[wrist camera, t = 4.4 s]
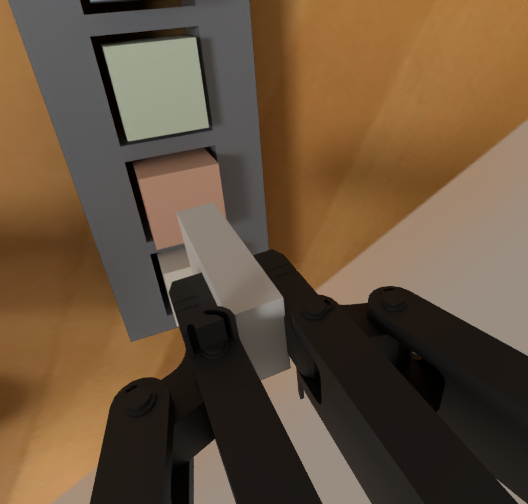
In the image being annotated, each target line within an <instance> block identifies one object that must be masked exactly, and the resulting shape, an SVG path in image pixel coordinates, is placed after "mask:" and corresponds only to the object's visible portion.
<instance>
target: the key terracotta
mask: <svg viewBox="0 0 528 504" xmlns="http://www.w3.org/2000/svg"><path fill="white" fill-rule="evenodd" d="M132 163H133V167H134V170H135V174H136V178H137V182H138V186H139V189H140V193H141V197H142V201H143V204H144V208H145V212H146V216H147V220H148V223H149V226H150V229H151V233H152V236H153V239H154V242H155V245H156V249H157V250H159V249H163V248H167V247H171V246H175V245H179V244H183V243H184V240H183V237H182V233H181V229H180V225H179V221H178V217H177V213H176V212H177V211H181V210H185V209H189V208H192V207H196V206H200V205H203V204H207V203H211V202H214V203H215V204H216V206H217V207H218V209H219V210H220V211H221V213H222V214H223V215H224V217H225V218H226V213H225V206H224V199H223V192H222V185H221V178H220V171H219V164H218V162H217V161H216V160H215V159H214V158H213V157H212V156H211V155H210V154H209V153H208V152H207V151H206V150H205V148H204V147H203V148H198V149H192V150H187V151H182V152H176V153H171V154H166V155H160V156H155V157H150V158H144V159H139V160H134V161H132Z"/></svg>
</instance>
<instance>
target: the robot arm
mask: <svg viewBox="0 0 528 504" xmlns="http://www.w3.org/2000/svg"><path fill="white" fill-rule="evenodd" d="M176 213H177V217H178V221H179V225H180V229H181V233H182V237H183V240H184V244H185V248H186V252H187V256H188V260H189V263H190V267H191V270H192V273H193V275H192V276H189V277H186V278H182V279H179V280H176V281H173V282H172V284H171V287H170V290H169V296H170V299H171V302H172V305H173V308H174V312H175V315H176V318H177V321H178V324H179V328H180V331H181V334H182V337H183V340H184V343H185V347H186V352H185V357H184V359H183V361H182V363H181V364H180V365H179V366H178V367H177V369H175V370H174V371H173V372H172V373H171V374H169V375H168V376H166V377H165V378H164V379H162V380H160V379H157V378H154V377H150V378H141V379H138V380H135V381H132V382H131V383H129V384H128V385H126V386H125V387H123V388H122V389H121V390H120V391H119V393H118V394H117V395H116V396H115V397H114V399H113V402H112V404H111V406H110V410H109V415H108V420H107V425H106V429H105V434H104V439H103V444H102V448H101V453H100V458H99V463H98V467H97V472H96V477H95V482H94V486H93V491H92V496H91V501H90V504H193V503H194V498H193V497H194V496H193V495H194V494H193V493H194V458H193V457H194V456H195V455H196V454H198V453H199V452H200V451H201V450H202V449H203V448H205V447H206V446H207V445H208V444H209V443H210V442H212V441H213V440H214V439H215V440H216V443H217V446H218V449H219V453H220V456H221V459H222V462H223V465H224V468H225V471H226V474H227V477H228V480H229V483H230V486H231V490H232V493H233V496H234V499H235V502H236V504H322V502H321V500H320V498H319V496H318V494H317V492H316V490H315V488H314V486H313V484H312V482H311V480H310V478H309V476H308V474H307V472H306V470H305V468H304V466H303V464H302V462H301V460H300V458H299V456H298V454H297V452H296V450H295V448H294V446H293V444H292V442H291V440H290V438H289V436H288V434H287V432H286V430H285V428H284V426H283V424H282V422H281V420H280V418H279V416H278V414H277V412H276V410H275V408H274V406H273V404H272V402H271V401H270V398H269V396H268V395H267V392H266V390H265V388H264V386H263V385H262V383H261V380H263V379H265V378H268V377H270V376H273V375H275V374H277V373H280V372H282V371H285V370H287V369H289V368H290V359H289V356H290V358H291V359H292V361H293V363H294V364H295V366H296V369H297V380H298V391H299V395H300V399H303V398H304V391H305V393H306V395H307V396H308V398H309V399H310V401H311V403H312V405H313V406H314V408H315V410H316V411H317V413H318V415H319V416H320V418H321V420H322V421H323V423H324V425H325V426H326V428H327V430H328V431H329V433H330V435H331V436H332V438H333V440H334V441H335V443H336V445H337V446H338V448H339V450H340V451H341V453H342V455H343V456H344V458H345V460H346V461H347V463H348V465H349V466H350V468H351V469H352V471H353V473H354V475H355V477H356V478H357V480H358V482H359V483H360V485H361V487H362V488H363V490H364V491H365V493H366V495H367V497H368V498H369V500H370V502H371V503H372V504H518V503H517V502H516V501H515V500H514V498H513V497H512V496H511V495H510V494H509V493H508V492H507V491H506V490H505V488H503V486H502V485H501V484H500V483H499V482H498V481H497V480H499V481H500V482H501V483H503V484H504V485H505V486H506V487H508V488H509V489H510V490H511V491H512V492H513V493H515V494H516V495H517V496H518V497H520V498H521V499H522V500H523V501H525V502H526V503H527V504H528V356H527V355H525V354H523V353H521V352H519V351H518V350H516V349H514V348H512V347H511V346H509V345H507V344H505V343H503V342H501V341H499V340H498V339H496V338H494V337H492V336H490V335H489V334H487V333H485V332H483V331H481V330H479V329H478V328H476V327H474V326H472V325H470V324H468V323H467V322H465V321H463V320H461V319H459V318H458V317H456V316H454V315H452V314H450V313H449V312H447V311H445V310H443V309H441V308H440V307H438V306H436V305H434V304H432V303H430V302H429V301H427V300H425V299H423V298H421V297H420V296H418V295H416V294H414V293H412V292H410V291H408V290H406V289H403V288H401V287H394V286H387V287H381V288H378V289H376V290H374V291H373V292H372V293H371V294H370V295H369V299H368V303H362V304H352V305H339V304H338V303H337V302H336V301H334V300H333V299H332V298H330V297H327V296H324V295H318V294H317V293H316V292H315V291H314V289H313V288H312V287H311V286H310V285H309V284H308V282H307V281H306V280H305V279H304V278H303V277H302V276H301V274H300V273H299V272H298V271H297V270H296V269H295V267H294V266H293V265H291V263H290V262H289V260H288V259H287V258H286V257H285V256H284V255H283V254H281V253H279V252H277V251H275V250H272V249H271V250H268V251H265V252H261V253H258V254H255V255H252V254H251V252H250V251H249V250H248V248H247V247H246V246H245V244H244V243H243V241H242V240H241V239H240V237H239V236H238V235H237V233H236V232H235V231H234V229H233V228H232V226H231V225H230V224H229V222H228V221H227V220H226V218H225V217H224V215H223V214H222V213H221V211H220V210H219V209H218V207H217V206H216V204H215V203H214V202H211V203H207V204H203V205H200V206H196V207H192V208H189V209H185V210H181V211H177V212H176ZM413 352H414V353H413ZM496 479H497V480H496Z"/></svg>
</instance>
